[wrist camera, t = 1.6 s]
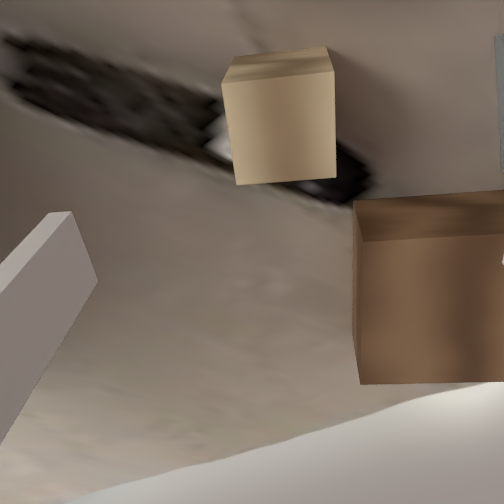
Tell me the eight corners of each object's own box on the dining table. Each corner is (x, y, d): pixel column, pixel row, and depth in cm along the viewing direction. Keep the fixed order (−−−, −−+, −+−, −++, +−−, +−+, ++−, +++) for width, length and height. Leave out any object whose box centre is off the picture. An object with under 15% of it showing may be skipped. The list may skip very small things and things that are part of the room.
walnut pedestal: (352, 334, 36) (360, 384, 32) (353, 200, 29) (363, 242, 25) (512, 328, 34) (542, 380, 30) (550, 186, 28) (595, 228, 24)
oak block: (246, 142, 28) (236, 185, 23) (234, 56, 25) (220, 83, 20) (327, 135, 27) (336, 177, 22) (325, 46, 24) (334, 71, 20)
